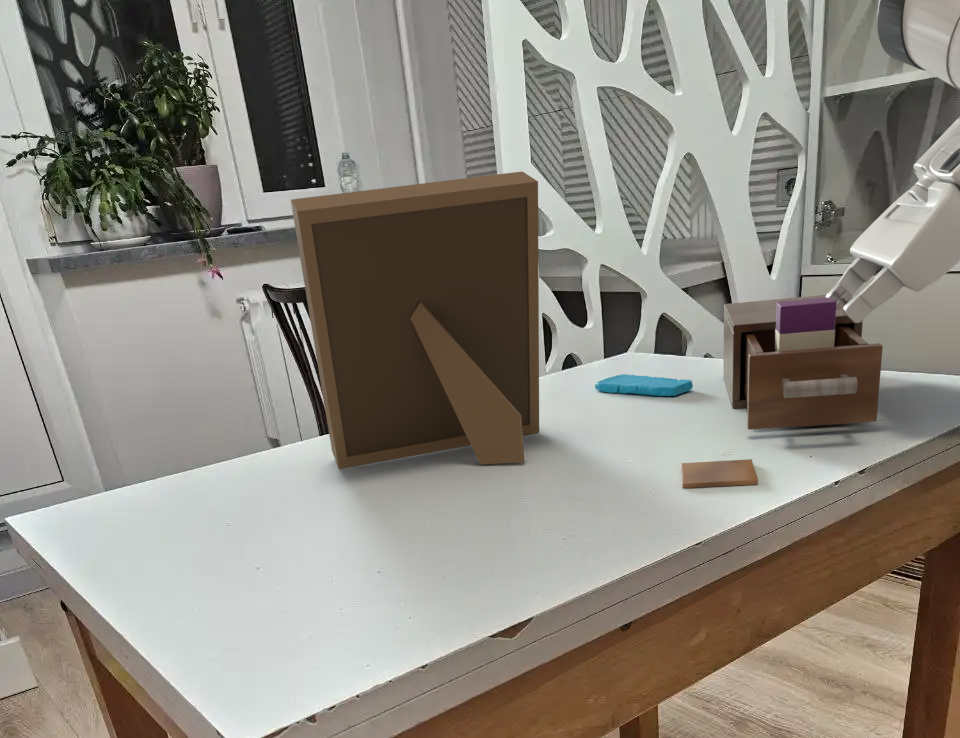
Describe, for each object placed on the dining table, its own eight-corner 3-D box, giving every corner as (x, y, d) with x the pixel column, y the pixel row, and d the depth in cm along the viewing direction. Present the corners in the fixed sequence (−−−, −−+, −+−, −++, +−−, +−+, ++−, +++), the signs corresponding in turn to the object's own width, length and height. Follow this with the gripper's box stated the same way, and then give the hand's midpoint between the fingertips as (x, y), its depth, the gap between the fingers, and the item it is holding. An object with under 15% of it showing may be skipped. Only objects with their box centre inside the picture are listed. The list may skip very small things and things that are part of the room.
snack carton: (825, 391, 92) (830, 296, 88) (831, 398, 88) (836, 301, 85) (773, 394, 93) (776, 301, 89) (777, 402, 90) (780, 306, 86)
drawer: (886, 433, 80) (893, 354, 77) (751, 441, 82) (753, 364, 79) (846, 386, 97) (851, 319, 94) (736, 394, 99) (737, 329, 96)
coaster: (751, 463, 79) (751, 459, 79) (757, 484, 74) (758, 479, 74) (681, 467, 81) (681, 463, 80) (682, 488, 75) (682, 483, 75)
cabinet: (857, 400, 95) (863, 313, 91) (732, 408, 97) (733, 325, 94) (831, 369, 109) (835, 293, 105) (723, 377, 112) (723, 304, 108)
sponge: (660, 392, 104) (696, 376, 106) (590, 383, 113) (624, 368, 115) (662, 405, 104) (697, 389, 107) (592, 395, 114) (626, 380, 116)
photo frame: (333, 459, 97) (285, 200, 86) (526, 425, 101) (504, 174, 90) (353, 496, 84) (300, 196, 73) (574, 455, 88) (556, 166, 77)
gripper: (910, 160, 88) (800, 277, 94) (976, 155, 70) (834, 300, 76) (954, 205, 89) (842, 318, 95) (1030, 212, 71) (886, 351, 77)
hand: (839, 311), depth 86 cm, fingers open, 8 cm apart
